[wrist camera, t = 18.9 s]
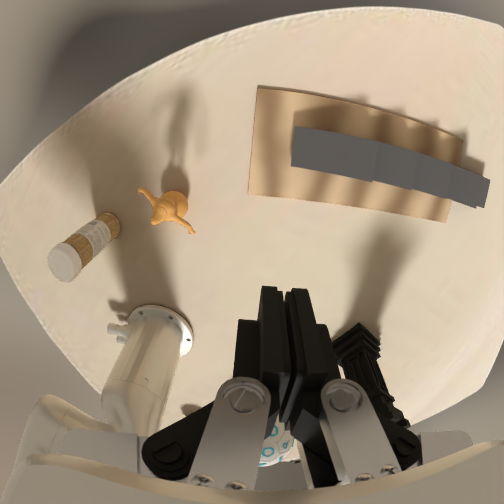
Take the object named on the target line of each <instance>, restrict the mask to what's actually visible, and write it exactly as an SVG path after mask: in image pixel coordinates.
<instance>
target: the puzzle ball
mask: <svg viewBox="0 0 504 504" xmlns="http://www.w3.org/2000/svg"><path fill="white" fill-rule="evenodd" d="M293 442H294V437H293V436H291V435H290V431H285V426H284V423H279V414H278V417H277V419H276V422H275V425H274V428H273V431H272V433H271V435H270V436H269V437H268V438H266V439H265V440H264V442H263V447H262V453H261V458H260V463H259V466H269V465H273V464H275V463H277V462H279V461H281V460H282V459H283V458H284V457H285V456H287V455H288V453H289V452H290V450H291V447H293Z"/></svg>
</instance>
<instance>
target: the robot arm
mask: <svg viewBox="0 0 504 504" xmlns="http://www.w3.org/2000/svg"><path fill="white" fill-rule="evenodd" d="M107 331H108V333H111V334H116V335H122V336H117V339H116V340H117V342H118V343H123V344H125V345H124V347H123V349H122V351H121V353H120V355H119V357H118V359H117V361H116V363H115V365H114V367H113V369H112V371H111V373H110V375H109V377H108V379H107V381H106V383H105V385H104V388H103V390H102V393H101V407H102V411H103V414H104V418H105V420H106V423H107V424H105V423H103V422H101V421H98V420H97V419H95V418H93V417H91V416H89V415H88V414H86V413H84V412H82V411H81V410H79V409H77V408H76V407H74V406H73V405H71V404H69V403H68V402H66V401H64V400H63V399H61V398H59V397H57V396H54V395H44V396H42V397H41V398H40V399H39V400H38V401H37V402H36V404H35V405H34V407H33V409H32V411H31V413H30V415H29V418H28V421H27V424H26V426H25V429H24V433H23V436H22V439H21V442H20V446H19V449H18V453H17V457H16V461H15V464H14V469H13V473H12V475H11V476H10V478H9V480H8V482H7V484H6V487H5V489H4V492H3V494H2V497H1V500H0V504H504V440H490V441H485V442H482V443H479V444H475V445H473V443H472V440H471V437H470V436H469V435H468V433H466V432H464V431H459V430H458V431H446V432H430V433H420V434H419V435H415V434H414V433H412V432H411V431H409V430H407V429H405V428H404V427H402V426H400V425H398V424H397V423H395V422H393V421H392V420H390V419H388V418H386V417H385V416H383V415H381V414H380V413H378V412H376V411H375V410H374V408H373V406H372V404H371V402H370V400H369V398H368V396H367V394H366V392H365V391H364V389H363V388H362V387H361V386H360V385H359V384H358V383H356V382H354V381H352V380H348V379H341V376H340V372H339V368H338V364H337V360H336V357H335V353H334V349H333V346H332V342H331V338H330V335H329V331H328V328H327V326H326V325H325V324H316V320H315V316H314V312H313V308H312V304H311V300H310V297H309V293H308V290H307V289H300V288H292V290H291V292H286V295H285V300H283V292H282V291H277V287H272V286H262V288H261V296H260V304H259V312H258V319H257V321H256V320H243V319H239V320H238V330H237V340H236V350H235V360H234V370H233V378H232V379H230V380H227V381H226V382H225V383H223V384H222V385H221V387H220V388H219V390H218V392H217V395H216V398H215V400H214V401H213V402H211V403H209V404H208V405H206V406H204V407H203V408H201V409H199V410H197V411H196V412H194V413H192V414H190V415H189V416H187V417H185V418H183V419H181V420H179V421H178V422H176V423H174V424H172V425H170V426H168V427H166V428H164V429H162V430H160V426H161V422H162V418H163V414H164V411H165V407H166V403H167V400H168V396H169V393H170V389H171V386H172V382H173V379H174V375H175V372H176V368H177V365H178V361H179V358H180V357H181V356H184V355H185V354H187V353H188V352H189V351H190V350H191V347H192V345H193V332H192V329H191V327H190V326H189V324H188V323H187V322H186V320H185V319H183V318H182V317H181V316H180V315H179V314H177V313H176V312H174V311H172V310H170V309H168V308H165V307H163V306H158V305H143V306H140V307H138V308H136V309H135V310H134V311H133V312H132V313H131V315H130V317H129V319H128V325H126V324H125V325H124V326H120V325H118V324H113V323H109V324H108V327H107ZM278 414H279V423H284V426H285V431H290V435H291V436H293V437H294V438H295V439H297V447H298V451H299V455H300V458H301V462H302V466H303V470H304V474H305V478H306V481H307V485H308V489H302V490H282V491H255V490H254V487H255V482H256V477H257V473H258V468H259V463H260V458H261V453H262V447H263V442H264V440H265V439H266V438H268V437H269V436H270V435H271V433H272V431H273V428H274V425H275V422H276V419H277V417H278Z"/></svg>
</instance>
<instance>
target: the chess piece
mask: <svg viewBox="0 0 504 504" xmlns="http://www.w3.org/2000/svg"><path fill="white" fill-rule="evenodd" d="M379 345H381V344H380V341H378V340H377V339H376V338H375V337H374V336H373V335H372V334H371V333H370V332H369V331H368V330H367V329H366V328H365V327H364V326H362V325H361V324H360V323H358V324H357V325H355V326H354V327H353V328H351V329H350V330H349V331H347V332H346V333H345V334H343V335H342V336H340V337H339V338H338V339H336V340H335V341H333V342H332V346H333V349H334V353H335V357H336V360H337V364H338V365H339V366H341V367H342V368H343V371H344V375H345V378H346V379H348V380H352V381H354V382H356V383H358V384H359V385H360V386H361V387H362V388H363V389H364V391H365V392H366V394H367V396H368V398H369V400H370V402H371V404H372V406H373V408H374V410H375V411H376V412H378V413H380V414H381V415H383V416H385V417H386V418H388V419H390V420H392V421H393V422H395V423H397V424H398V425H400V426H402V427H404V428H405V429H407V428H409V427H410V423H409V420H407V419H405V418H404V415H403V413H402V411H400V410H399V409H397V408H395V407H394V406H393V402H394V401H395V399H394V397H393V396H391V395H390V394H389V392H388V389H387V386H386V384H385V381H384V378H383V376H382V373H381V371H380V368H379V365H378V363H377V359H378V358H380V357H381V356H380V354H379V353H378V352H379V351H381V350H380V347H378V346H379Z"/></svg>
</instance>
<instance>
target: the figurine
mask: <svg viewBox="0 0 504 504" xmlns="http://www.w3.org/2000/svg"><path fill="white" fill-rule="evenodd" d="M138 192H139V194H140V192H143V193H144V195H145V196H146V197H147V198H148V199H149V200H150V202H151V204H152V207H153V215H152V218H151V224H152V225H156V224H159V223H160V222H162V221H170V222H171V221H175V222H177V223H179V224H181V225H183V226H185V227H186V228H187V229H188V230H189V232H190V233H189V234H194V233H195V231H193V228H192V227H191V225H190V224H189V223H188V222H187V221H185V220H184V219H182V217H184V215H185V214H186V212H187V209H188V202H187V199H186V197H185V196H184V195H183V194H182V193H180V192H178V191H169V192H166V193H165V194H163V195H162V197H161V198H159V199H158V198H156V197H154V196H153V195H152V194H151V193H150V192H149V191H148V190H147V189H145V188H140V187H138Z"/></svg>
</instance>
